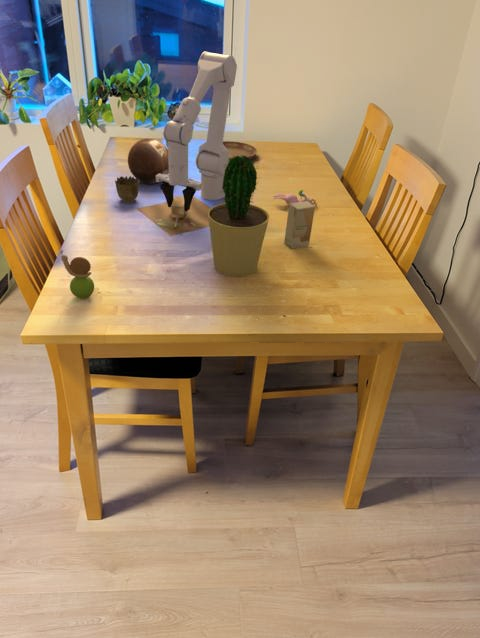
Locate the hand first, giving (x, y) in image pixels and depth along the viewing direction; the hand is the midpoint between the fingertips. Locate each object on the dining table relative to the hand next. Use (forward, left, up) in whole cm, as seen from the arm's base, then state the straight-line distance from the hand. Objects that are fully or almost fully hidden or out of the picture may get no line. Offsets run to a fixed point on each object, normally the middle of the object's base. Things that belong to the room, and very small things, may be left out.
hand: (178, 208), depth 159 cm
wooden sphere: (-6, -31, -3) cm, 32 cm away
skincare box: (-21, +32, -3) cm, 38 cm away
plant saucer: (-49, -43, -4) cm, 65 cm away
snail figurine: (+42, +28, -3) cm, 51 cm away
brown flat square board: (-1, +1, -3) cm, 4 cm away
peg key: (+2, +3, -2) cm, 4 cm away
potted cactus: (+2, +34, -3) cm, 34 cm away
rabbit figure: (-39, +9, -3) cm, 40 cm away
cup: (+9, -17, -3) cm, 20 cm away
